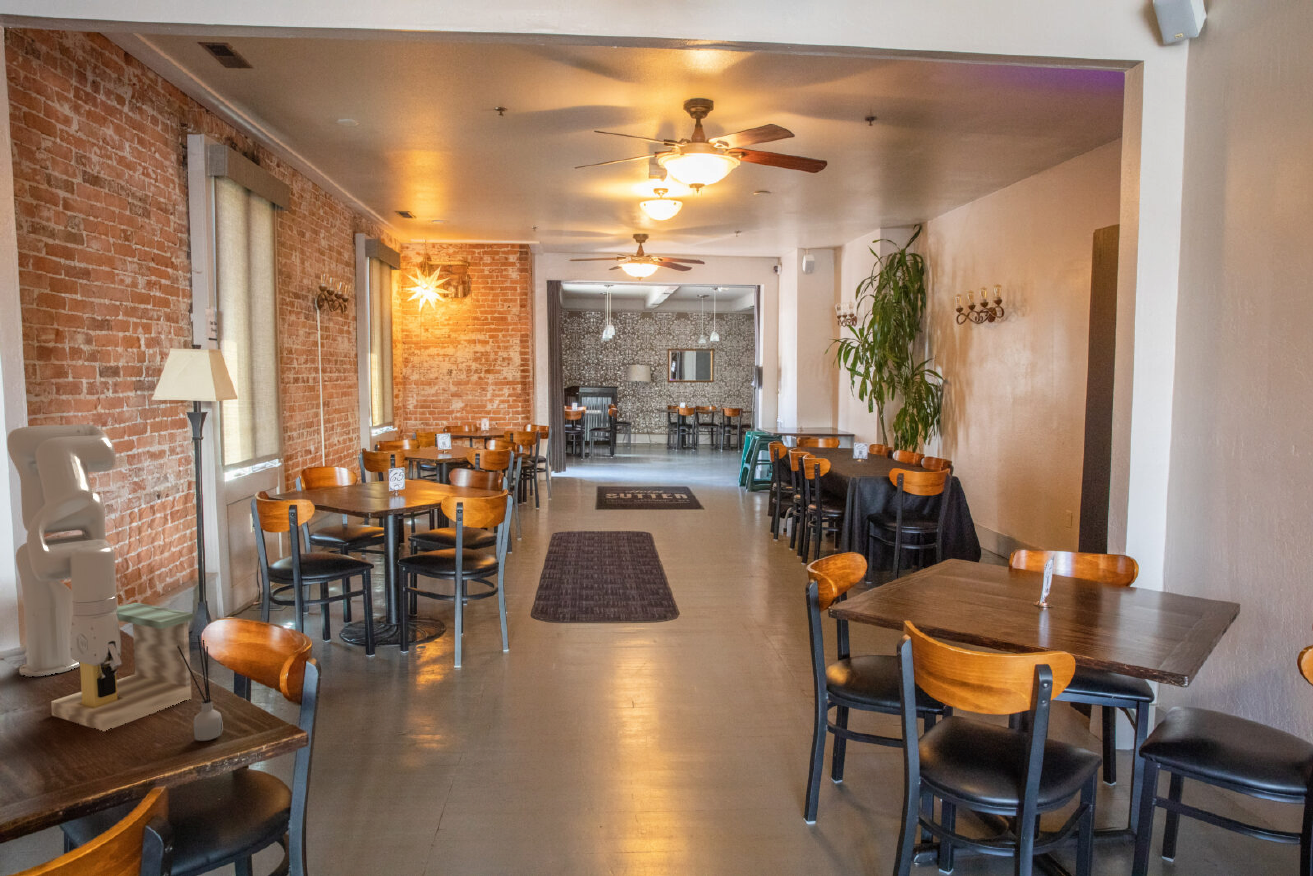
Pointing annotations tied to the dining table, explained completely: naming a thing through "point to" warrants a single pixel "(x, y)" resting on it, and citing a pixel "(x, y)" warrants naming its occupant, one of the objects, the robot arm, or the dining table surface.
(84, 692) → the peg
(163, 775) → the dining table surface
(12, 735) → the dining table surface
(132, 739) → the dining table surface
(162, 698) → the green-topped stand
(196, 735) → the reed diffuser
